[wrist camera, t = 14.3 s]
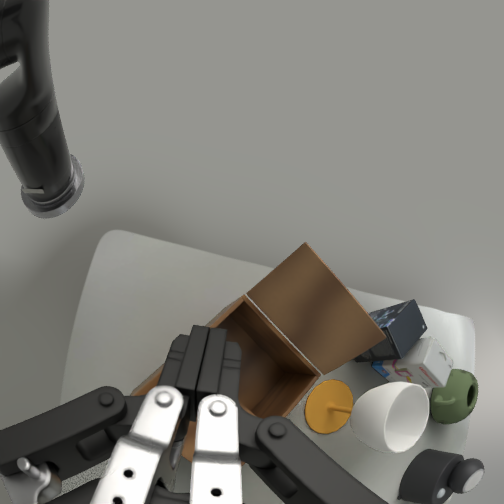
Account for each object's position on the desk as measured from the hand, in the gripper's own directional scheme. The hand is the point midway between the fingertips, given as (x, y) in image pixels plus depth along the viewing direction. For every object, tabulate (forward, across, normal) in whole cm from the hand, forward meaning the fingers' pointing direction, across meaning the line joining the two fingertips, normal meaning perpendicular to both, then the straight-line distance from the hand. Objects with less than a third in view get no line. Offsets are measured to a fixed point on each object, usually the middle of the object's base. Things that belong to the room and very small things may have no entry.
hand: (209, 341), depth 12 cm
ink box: (+22, -29, +24) cm, 44 cm away
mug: (+19, -47, +33) cm, 60 cm away
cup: (+15, -17, +26) cm, 34 cm away
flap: (+13, -9, +7) cm, 17 cm away
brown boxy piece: (+14, +1, +21) cm, 25 cm away
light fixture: (+5, -44, +46) cm, 63 cm away
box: (+25, -22, +19) cm, 38 cm away
